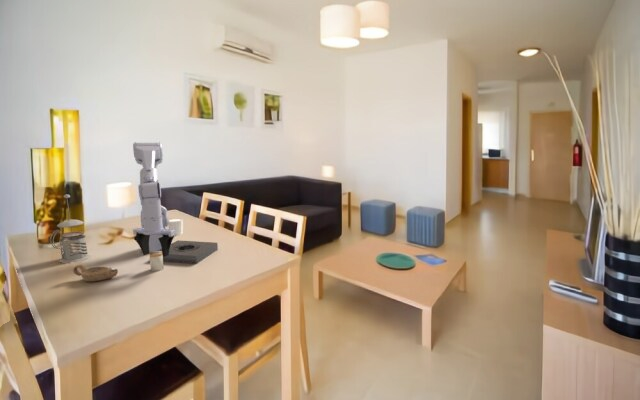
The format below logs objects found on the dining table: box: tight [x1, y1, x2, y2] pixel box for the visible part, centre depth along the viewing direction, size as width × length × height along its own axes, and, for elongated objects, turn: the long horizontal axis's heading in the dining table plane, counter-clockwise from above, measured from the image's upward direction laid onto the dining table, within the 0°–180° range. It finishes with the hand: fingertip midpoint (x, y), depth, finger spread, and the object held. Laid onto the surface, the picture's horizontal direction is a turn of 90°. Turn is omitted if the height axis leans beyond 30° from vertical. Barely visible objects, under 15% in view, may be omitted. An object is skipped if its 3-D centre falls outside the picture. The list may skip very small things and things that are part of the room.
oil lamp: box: [72, 264, 119, 282], centre depth 103 cm, size 13×8×5 cm, turn 91°
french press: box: [49, 193, 92, 264], centre depth 118 cm, size 10×12×25 cm
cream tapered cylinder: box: [167, 218, 184, 237], centre depth 154 cm, size 7×7×7 cm
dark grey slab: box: [157, 240, 219, 265], centre depth 125 cm, size 18×16×3 cm
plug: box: [148, 251, 164, 272], centre depth 111 cm, size 4×4×6 cm
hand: (156, 255), depth 111 cm, fingers open, 7 cm apart
